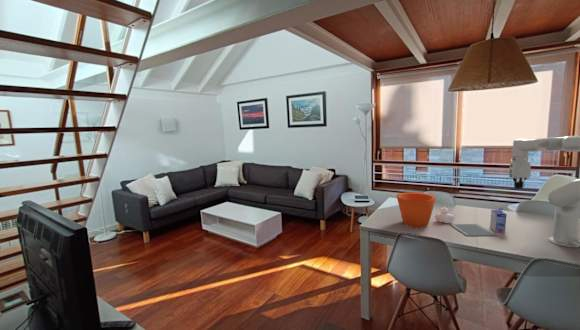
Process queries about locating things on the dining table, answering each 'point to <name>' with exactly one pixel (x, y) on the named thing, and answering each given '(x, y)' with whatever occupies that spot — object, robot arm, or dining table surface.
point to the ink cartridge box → (498, 220)
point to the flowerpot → (416, 208)
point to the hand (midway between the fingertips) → (518, 188)
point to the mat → (472, 230)
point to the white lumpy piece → (444, 216)
